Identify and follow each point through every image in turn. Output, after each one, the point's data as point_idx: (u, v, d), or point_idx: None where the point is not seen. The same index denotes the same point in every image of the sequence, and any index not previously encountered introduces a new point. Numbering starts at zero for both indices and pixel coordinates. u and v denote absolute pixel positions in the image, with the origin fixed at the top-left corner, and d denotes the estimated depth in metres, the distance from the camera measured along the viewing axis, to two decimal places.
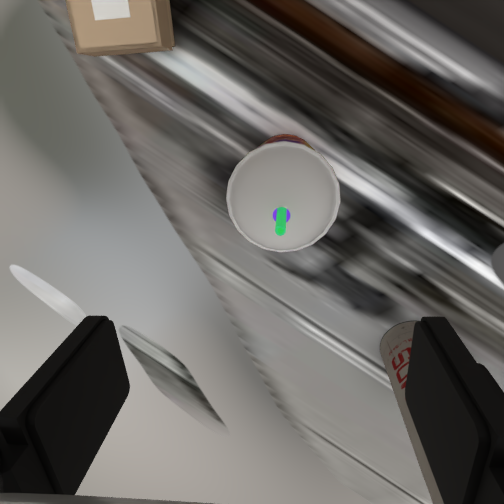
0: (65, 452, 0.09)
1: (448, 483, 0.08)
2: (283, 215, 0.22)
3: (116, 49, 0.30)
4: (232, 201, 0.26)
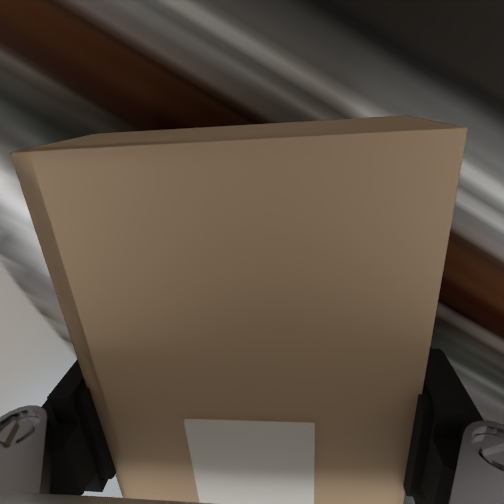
0: None
1: None
2: None
3: None
4: None
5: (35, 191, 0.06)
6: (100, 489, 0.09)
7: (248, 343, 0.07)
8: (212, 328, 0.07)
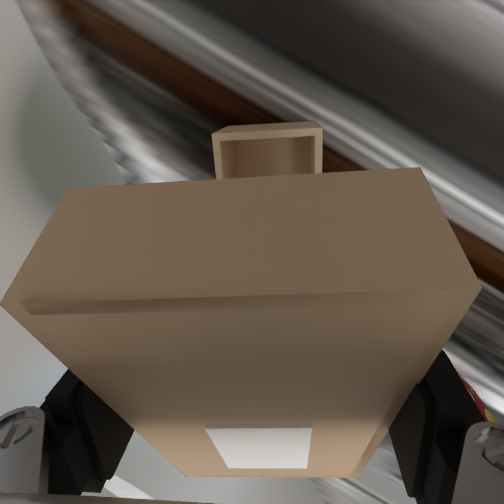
0: (106, 434, 0.09)
1: (405, 458, 0.09)
2: None
3: None
4: None
5: (35, 326, 0.06)
6: (98, 490, 0.09)
7: (257, 394, 0.08)
8: (224, 389, 0.08)
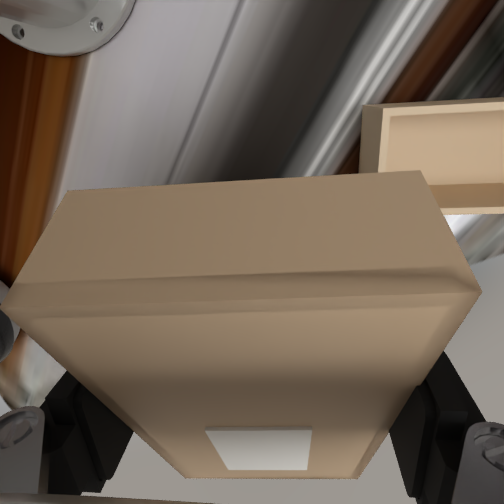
0: (106, 434, 0.09)
1: (405, 458, 0.09)
2: None
3: (264, 476, 0.15)
4: None
5: (35, 329, 0.06)
6: (98, 489, 0.09)
7: (257, 397, 0.08)
8: (225, 392, 0.08)
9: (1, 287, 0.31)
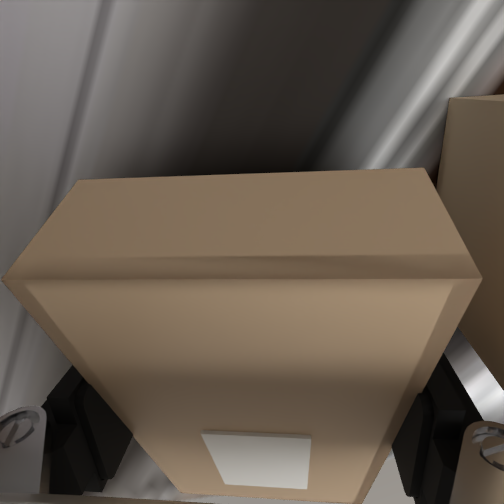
0: (107, 433, 0.09)
1: (403, 457, 0.09)
2: None
3: (263, 495, 0.15)
4: None
5: (34, 305, 0.06)
6: (99, 489, 0.09)
7: (254, 396, 0.08)
8: (221, 387, 0.08)
9: None
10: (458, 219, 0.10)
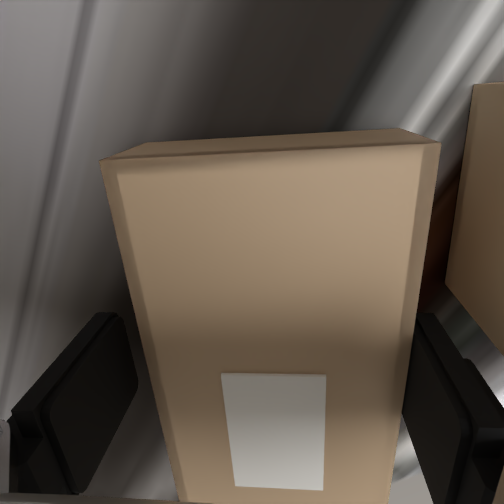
0: (78, 446, 0.09)
1: (434, 474, 0.08)
2: None
3: None
4: None
5: (114, 190, 0.08)
6: None
7: (274, 309, 0.09)
8: (246, 296, 0.09)
9: None
10: (488, 219, 0.09)
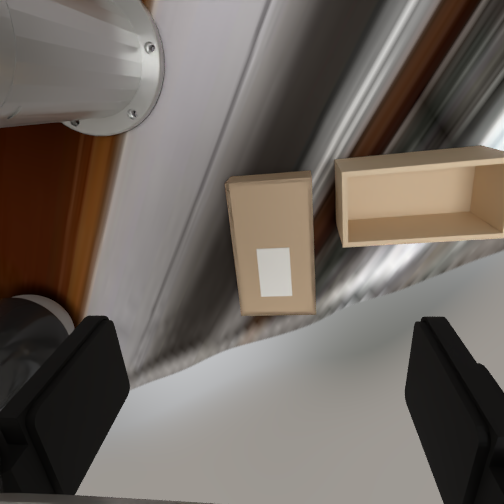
0: (65, 452, 0.09)
1: (447, 482, 0.08)
2: None
3: (275, 314, 0.35)
4: None
5: (228, 191, 0.31)
6: None
7: (272, 225, 0.32)
8: (264, 221, 0.32)
9: (60, 309, 0.40)
10: (337, 199, 0.31)
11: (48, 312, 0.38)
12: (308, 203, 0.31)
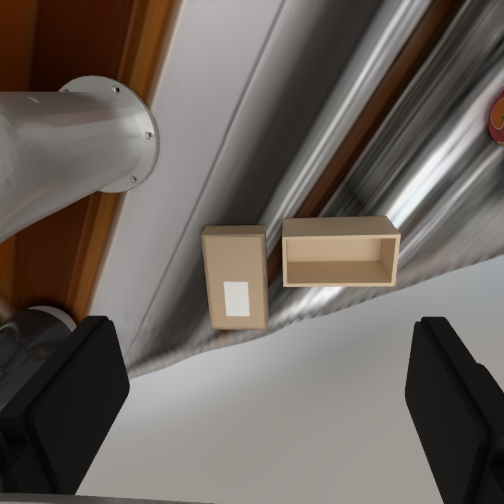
0: (65, 452, 0.09)
1: (448, 483, 0.08)
2: None
3: (237, 329, 0.47)
4: None
5: (203, 240, 0.42)
6: None
7: (235, 265, 0.43)
8: (229, 262, 0.43)
9: (68, 318, 0.50)
10: None
11: (60, 321, 0.48)
12: (261, 251, 0.42)
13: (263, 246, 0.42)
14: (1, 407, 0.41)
